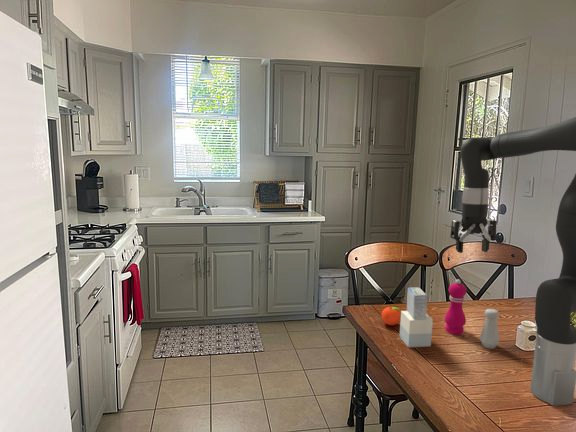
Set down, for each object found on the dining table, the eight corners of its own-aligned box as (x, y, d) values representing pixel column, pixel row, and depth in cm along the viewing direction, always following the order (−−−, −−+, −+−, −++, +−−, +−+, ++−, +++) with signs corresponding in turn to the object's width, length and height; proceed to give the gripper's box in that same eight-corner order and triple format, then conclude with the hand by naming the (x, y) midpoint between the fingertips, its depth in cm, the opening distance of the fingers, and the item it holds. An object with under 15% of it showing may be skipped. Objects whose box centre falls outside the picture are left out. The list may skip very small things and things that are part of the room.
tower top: (431, 333, 137) (432, 319, 137) (409, 334, 137) (409, 320, 136) (421, 323, 145) (422, 310, 144) (400, 324, 144) (401, 310, 144)
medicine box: (426, 319, 137) (427, 295, 135) (413, 319, 136) (414, 295, 135) (418, 310, 144) (419, 287, 143) (406, 310, 144) (407, 287, 143)
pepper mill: (440, 331, 150) (444, 279, 146) (448, 325, 155) (452, 275, 151) (460, 337, 145) (464, 284, 141) (467, 330, 150) (472, 279, 147)
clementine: (399, 320, 159) (400, 303, 158) (404, 328, 152) (405, 310, 151) (379, 320, 159) (379, 303, 157) (383, 328, 152) (384, 310, 151)
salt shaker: (500, 350, 135) (504, 314, 133) (482, 349, 136) (485, 312, 134) (495, 342, 141) (498, 307, 139) (477, 341, 142) (480, 306, 140)
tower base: (430, 346, 138) (431, 333, 138) (408, 347, 138) (409, 334, 137) (420, 336, 146) (421, 323, 145) (399, 337, 145) (400, 324, 145)
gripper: (460, 203, 123) (457, 255, 125) (503, 202, 125) (500, 253, 127) (447, 201, 130) (445, 250, 133) (488, 200, 132) (485, 248, 135)
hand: (472, 251), depth 130 cm, fingers open, 8 cm apart
